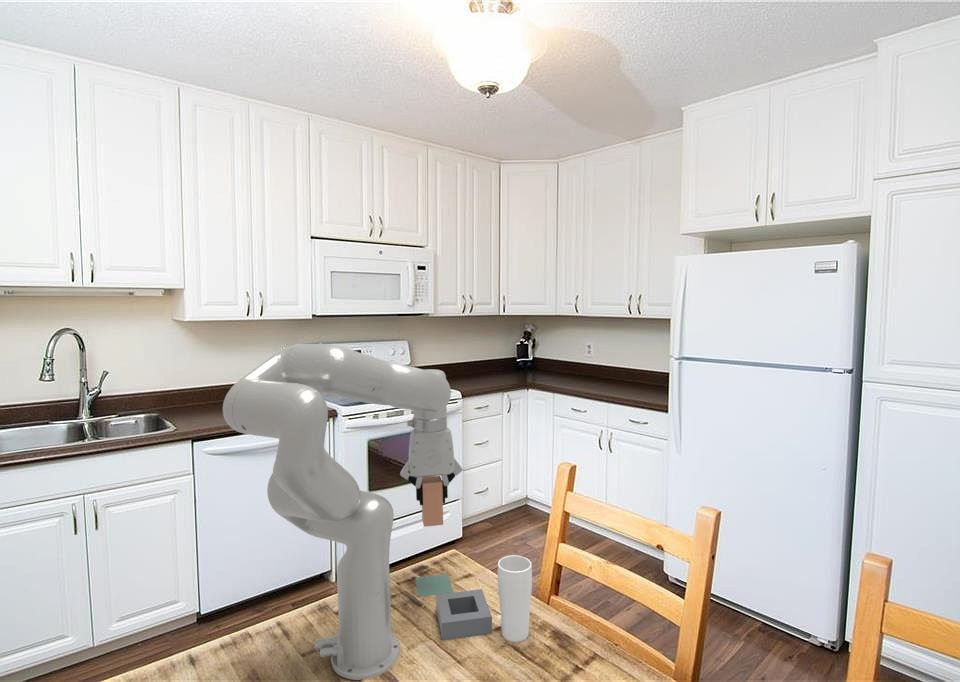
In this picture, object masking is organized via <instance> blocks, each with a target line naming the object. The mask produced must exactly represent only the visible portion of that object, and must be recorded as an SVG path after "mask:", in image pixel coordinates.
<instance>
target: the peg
mask: <svg viewBox="0 0 960 682" xmlns="http://www.w3.org/2000/svg"><path fill="white" fill-rule="evenodd" d="M421 484H422V488H423V505H421V519H422V525H423V527H424V528H425V527H436V526H444V503H443V489H442V477H441V475H438V476H425V477H423V478H422V482H421Z"/></svg>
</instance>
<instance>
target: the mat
mask: <svg viewBox="0 0 960 682" xmlns="http://www.w3.org/2000/svg"><path fill="white" fill-rule="evenodd" d="M415 587H416V593H417V594H416V595H417V597H418V598H419V597H429V596H436V595H438V594H446V593H454V591H453V587H452V583H451V577H450V575H449V573H446V574H438V575H430V576H429V575H428V576H420V577H415Z"/></svg>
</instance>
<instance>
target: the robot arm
mask: <svg viewBox="0 0 960 682" xmlns="http://www.w3.org/2000/svg"><path fill="white" fill-rule="evenodd" d="M451 390H452V389H451V386H450V383H449V382H448V379H447V376H446V373H445V372H444V371H443V370H440V369H437V368H436V369H434V368H433V369H431V368H430V369H429V368H428V369H422V368H419V367H413V366H409V365H405V364H401V363H397V362H394V361H389V360H384V359H380V358H377V357H373V356H370V355H368V354H365V353H362V352H360V351H356V350H355V349H354V350H353V349H351V348H348V347H346V346H345V347H344V346H341V345H337V344H324V343H321V344H320V343H319V344H318V343H295V344H291V345H289V346H286V347H285V348H283V349H281V350H279V351H278V352H276V353H275V354H273V355H272V356H271V357H269V358H268V359H266V360H265V361H263V362H262V363H261V364H259V365H258V366H257V367H255V368H254V369H252V370H251V371H250V372H248V373H247V374H246V375H245V376H243V377H242V378H240V379H239V380H237V381H236V382H235V383H234V384H233V386H231V388H230V389H229V390H228V391H227V393H226V395H225V397H224V400H223V403H222V415H223V418H224V421H225V423H227V425H228V426H229V427H230V428H231V429H232V430H233V431H235V432H238V433H241V434H245V435H251V436H258V437H265V438H266V437H267V438H272V439H278V447H277V450H276V451H277V452H276V455H275V461H274V463H273V468H272V473H271V475H270V477H269V479H268V483H267V499H268V502H269V504H270V506H271V508H272V509H273V511H274V512H275V513H276V514H277V515H279V516H280V517H282V518H283V519H285V520H286V521H288V522H289V523H290V524H292V525H293V526H295V527H296V528H298V529H299V530H301V531H303V532H304V533H306V534H308V535H309V536H312V537H315V538H319V539H323V540H328V541H331V542H335V543H336V542H337V543H338V544H341V545H342V544H343V545H344V546H345V547H346V551H345V552H344V554H343V555H342V557H341V558H340V559H339V562H338V563H337V569H336V584H337V585H336V587H337V608H338V609H337V611H338V630H337V634H332V636H331V637H326V638H325V637H322V638H321V637H320V638H315V639H314V651H315V652H316V651H319V655H320V658H324V657H328V656H331V657H330V658H331V659H330V660H331V661H330V663H331V667H332V669H333V671H334V673H335V674H337V675H339V676H341V677H342V678H345V679H347V680H355V681H362V680H365V679H369V678H373V677H377V676H380V675H382V674H383V673H385V672H386V671H388V670H389V669H391V668H392V667H393V666H394V665H395V664H396V663H397V662H398V659H399V658H400V652H401V647H400V642H399V640H398V639H397V638H396V636H394V635H393V634H392V616H391V613H392V612H391V583H390V582H391V578H390V575H391V574H390V546H391V545H390V544H391V537H392V532H393V531H392V530H393V525H394V517H395V516H394V509H393V506H392V504H391V502H390V501H389V500H388V499H387V498H386V497H384V496H382V495H380V494H377V493H376V492H372V491H371V492H370V491H365V490H360V487H359V484H358V482H357V481H356V479H355V478H354V477H353V475H352V474H350V472H349V471H348V470H346V469H345V468H344V467H343V466H342V465H341V464H340V463H339V462H338V461H336V459H334V458H333V457H332V456H331V455H330V454H329V453H328V451H327V450H326V448H325V441H326V433H327V427H328V419H329V411H328V410H329V409H328V405H327V402H326V399H325V398H324V396H323V395H325V396H326V395H327V396H332V397H337V398H342V399H347V400H352V401H356V402H361V403H364V404H372V405H378V406H379V405H380V406H390V407H392V408H396V409H400V410H411V411H412V410H413V418H412V419H410V420H407V422H406V423H407V424H406V425H407V427H410V428H413V429H411V431H410V435H409V443H408V460H406V463H405V464H404V466H403V467H402V469H401V471H400V473H399V475H400V477H402V478H404V479H405V480H407V481H408V482H409V483H410V484H412V486H414V487H415V492H416V496H415V497H416V502H418V501H419V506H420V507H422V505H423V488H422V484H421V482H422V478H423V477H429V476H440V477H441V480H442V489H443V504H446V499H448V497H449V496H448V495H449V494H448V492H449V491H448V486H449V485H450V483H451V482H452V481H453V480H454V479H455V478H456V476H458V475H460V473H462V471H463V468H462V466H461V465H460V464H459V462H458V461H457V459H456V458H455V453H454V443H453V435H452V430H451V429H450V427H448V421H447V420H448V411H447V410H448V409H447V406H448V404H449V403H450V400H451V394H452V393H451V392H452V391H451Z"/></svg>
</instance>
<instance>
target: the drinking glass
mask: <svg viewBox="0 0 960 682" xmlns="http://www.w3.org/2000/svg"><path fill="white" fill-rule="evenodd" d="M532 565H533V564H532V562H531V561H530V559H529V558H527V557H524V556H523V555H522V556H521V555H517V554H516V555H515V554H514V555H506V556H503V557H502V558H500V559H499V560H498V563H497V589H498V590H497V591H498V599H499V610H500V622H501V634H502V638H503V639H505V640H506V641H508V642H511V643H512V642H513V643H520V642H523V641H525V640H527V638H528V637H529V634H530V629H529V628H530V627H529V625H530V613H531V612H530V610H531V600H532V588H533V567H532Z"/></svg>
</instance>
